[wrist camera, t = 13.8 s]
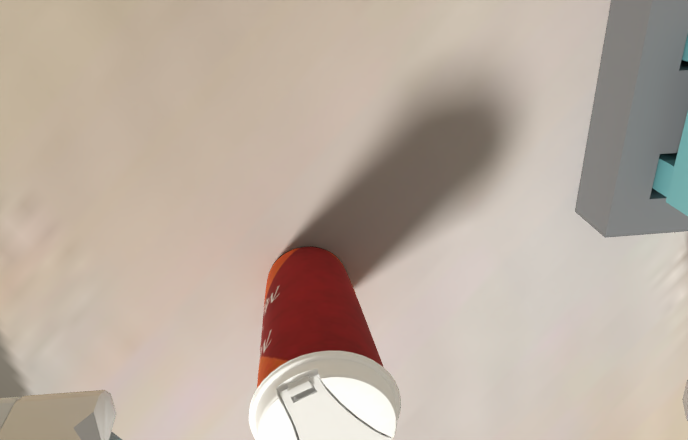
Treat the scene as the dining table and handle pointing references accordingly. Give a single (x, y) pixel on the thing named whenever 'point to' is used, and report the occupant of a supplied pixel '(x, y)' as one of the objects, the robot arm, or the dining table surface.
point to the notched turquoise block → (675, 168)
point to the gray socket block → (636, 119)
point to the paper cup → (319, 358)
